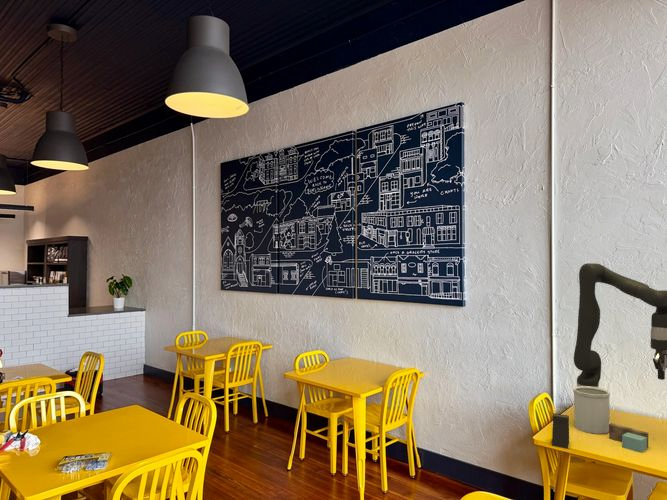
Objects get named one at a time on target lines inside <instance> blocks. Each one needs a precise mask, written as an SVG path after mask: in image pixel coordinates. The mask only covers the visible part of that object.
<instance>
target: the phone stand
mask: <svg viewBox="0 0 667 500" xmlns="http://www.w3.org/2000/svg"><path fill="white" fill-rule="evenodd" d="M551 435H552V436H551V437H552V439H551V442H552V443H551V446H552V447H558V448H562V449H569V445H570V415H568V414H561V413H555V412H553V413H552V434H551Z"/></svg>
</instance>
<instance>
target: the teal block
mask: <svg viewBox="0 0 667 500" xmlns="http://www.w3.org/2000/svg"><path fill="white" fill-rule="evenodd" d="M621 447H622V448H623V449H626V450H630V451H633V452H637V453H640V454H641V453H643V452H645V451H646V450H648V448H647V437H644V436H640V435H636V434H632V433H629V432H627V433H625V434H624V435H622V442H621Z"/></svg>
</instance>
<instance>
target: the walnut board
mask: <svg viewBox="0 0 667 500" xmlns="http://www.w3.org/2000/svg"><path fill="white" fill-rule="evenodd" d="M627 432H629V433H632V434H636V435H640V436H644V437H647V449H648V448H649V432H646V431H643V430H638V429H635V428H632V427H628V426H623V425H621V424H616V423H609V432H608V439H610V440H614V441H617V442H621V443H622V435H624V434H625V433H627Z"/></svg>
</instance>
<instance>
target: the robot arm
mask: <svg viewBox="0 0 667 500" xmlns="http://www.w3.org/2000/svg"><path fill="white" fill-rule="evenodd" d="M578 279H579V281H578V283H579V285H578V286H579V300H578V303H579V304H578V305H579V306H578V313H577V314H578V315H577V331H576V332H577V333H576V342H575V347H574V353H573V364H574V366H575V367H576V368H577V370H579V371H581V373H580V374H579V375H578V376H577V377H576V387H579V386H589V387H597V388H600V387H599V386H600V385H599V383H600V380H601V376H602V358H601V356H600V354H599V353H598V352H597V351H595V350H592V343H593V340H594V337H595V336H596V334H597V332H598V330H599V328H600V323H601V321H600V320H601V307H600V305H599V303H598V300H597V297H596V284H597V283H601V284H605V285H609V286H612V287H614V288H616V289H617V290H619V291H621V292H622V293H624V294H625V295H628V296H630V297H633V298H634V299H639V300H640V301H642V302H643V303H645V304H648V305H649V306H652V307H655V312H653V313H652V314H651V317H650V318H651V321H650V325H651V326H650V327H651V328H650V349H652V350H655V353H654V355H653V356H654V357H653V358H652V361H653V366H654V368H655V370H656V371H657V379H658V380H661V381H664V380H666V370H667V289H666V290H663V289H662V290H657V289H655V288H652V287H650V285H647V284H646V283H643V282H641V281H639V280H635V279H632V278H630V277H627V276H625V275H621V274H619V273H618V272H615V271H613V270H611V269H610V268H608V267H605V266H604V265H602V264H600V263H593V262H592V263H589V262H588V263H585V264H584V263H583V264H582V265H581V266H580V268H579V271H578Z"/></svg>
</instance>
